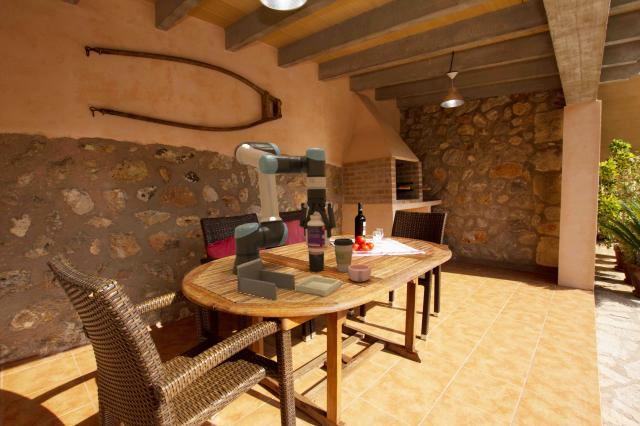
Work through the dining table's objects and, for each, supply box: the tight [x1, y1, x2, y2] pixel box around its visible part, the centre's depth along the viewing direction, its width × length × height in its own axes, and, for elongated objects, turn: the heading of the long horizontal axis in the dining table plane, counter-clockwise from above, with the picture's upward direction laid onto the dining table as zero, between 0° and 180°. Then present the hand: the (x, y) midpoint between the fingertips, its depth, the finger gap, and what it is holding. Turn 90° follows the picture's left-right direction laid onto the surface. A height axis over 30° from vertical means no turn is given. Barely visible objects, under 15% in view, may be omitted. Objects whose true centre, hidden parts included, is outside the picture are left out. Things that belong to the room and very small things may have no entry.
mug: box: [347, 263, 372, 283], centre depth 134 cm, size 12×10×6 cm
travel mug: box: [308, 250, 325, 273], centre depth 148 cm, size 8×8×20 cm
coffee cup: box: [333, 237, 354, 273], centre depth 148 cm, size 10×10×15 cm
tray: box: [294, 275, 342, 298], centre depth 123 cm, size 14×14×2 cm
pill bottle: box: [307, 213, 329, 253], centre depth 121 cm, size 8×8×14 cm
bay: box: [236, 258, 296, 301], centre depth 121 cm, size 18×13×11 cm
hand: (317, 245), depth 121 cm, fingers closed on pill bottle, 8 cm apart
